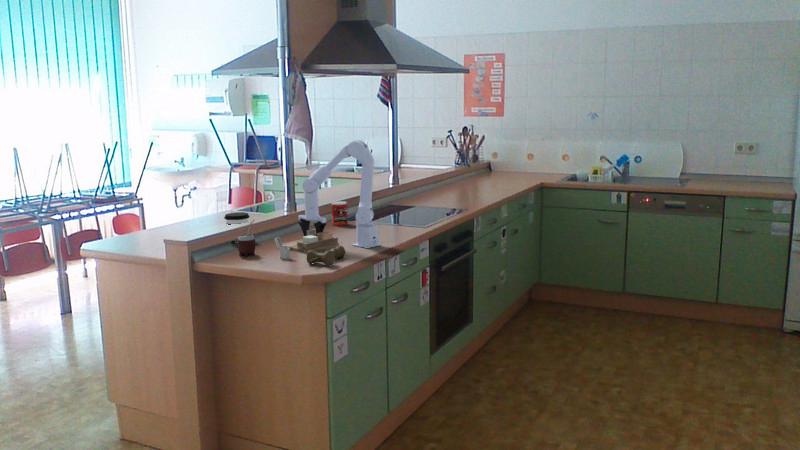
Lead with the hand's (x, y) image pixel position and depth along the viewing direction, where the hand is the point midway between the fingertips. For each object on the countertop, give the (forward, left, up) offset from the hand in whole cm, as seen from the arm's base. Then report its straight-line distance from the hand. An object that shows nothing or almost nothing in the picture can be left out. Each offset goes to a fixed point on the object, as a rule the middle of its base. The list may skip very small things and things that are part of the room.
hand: (312, 237), depth 295 cm
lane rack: (-2, +4, -3) cm, 5 cm away
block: (-8, +8, -2) cm, 11 cm away
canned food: (+27, -39, -3) cm, 47 cm away
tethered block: (-5, 0, -1) cm, 5 cm away
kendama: (-29, +17, -3) cm, 34 cm away
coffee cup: (+32, +16, -3) cm, 36 cm away
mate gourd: (+5, +29, -3) cm, 30 cm away
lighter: (-10, +23, -3) cm, 26 cm away
